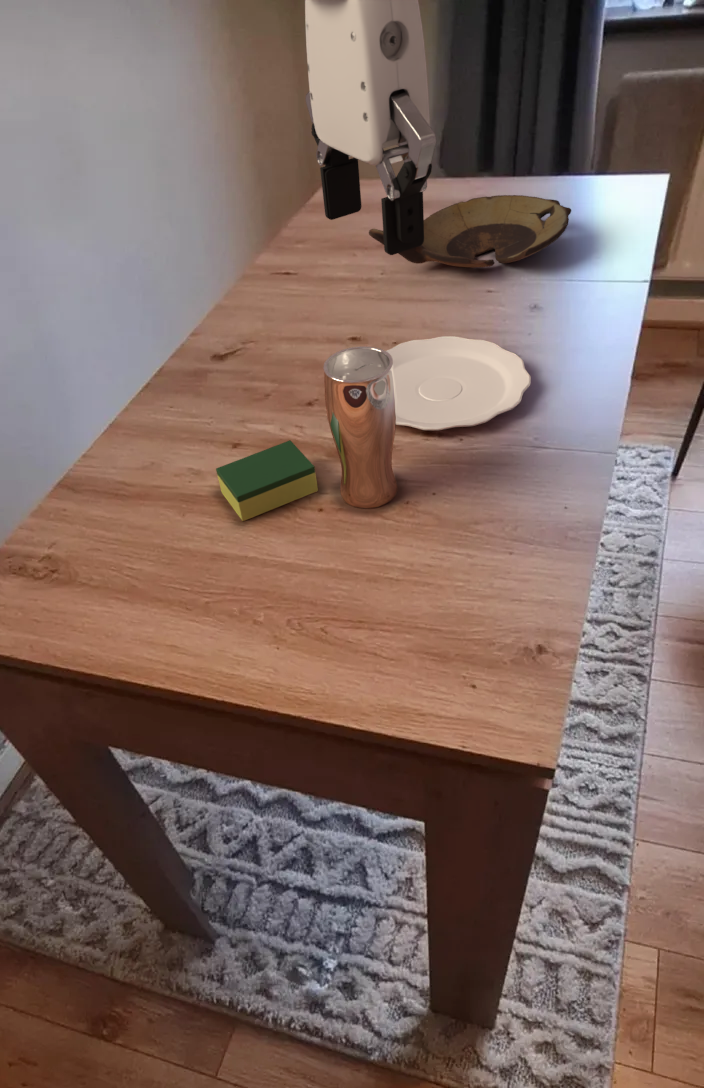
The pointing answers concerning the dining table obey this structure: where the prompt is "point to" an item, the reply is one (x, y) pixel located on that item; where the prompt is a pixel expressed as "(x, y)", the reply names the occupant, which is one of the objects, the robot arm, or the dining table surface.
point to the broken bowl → (488, 230)
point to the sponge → (267, 480)
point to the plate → (455, 382)
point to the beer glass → (363, 422)
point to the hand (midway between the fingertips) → (372, 231)
